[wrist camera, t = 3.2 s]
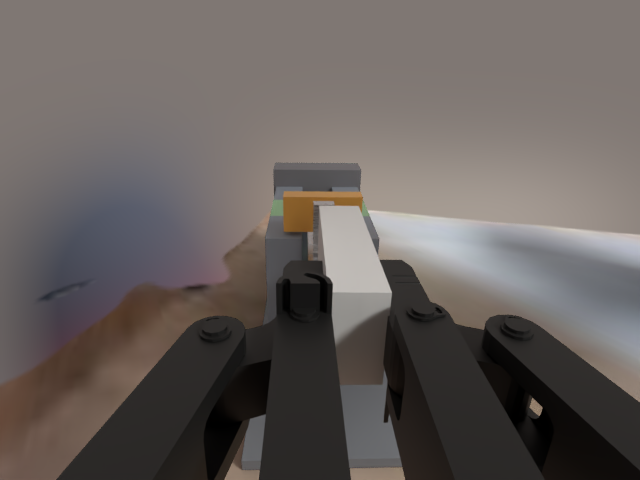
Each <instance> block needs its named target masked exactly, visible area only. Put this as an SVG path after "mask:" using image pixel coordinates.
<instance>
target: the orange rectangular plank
mask: <svg viewBox="0 0 640 480" xmlns="http://www.w3.org/2000/svg"><path fill="white" fill-rule="evenodd" d="M313 201H334V204H335V206H359V208H360V211H361V213H362V202H363V197H362V195H361V192H320V191H284V194H283V221H284V232H313Z"/></svg>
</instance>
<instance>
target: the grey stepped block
mask: <svg viewBox="0 0 640 480" xmlns="http://www.w3.org/2000/svg"><path fill="white" fill-rule="evenodd" d="M360 180H361V169H360V167H359V166H358V164H357V163H356V164H355V163H354V164H353V163H275V166H274V200H273V205H272V210H271V214H270V219H269V223H268V228H267V232H266V237H265V248H266V275H267V301H266V307H265V314H264V320H263V325H265V324H267V323H269V322H270V321H272V320H273V319H274V318H275V317H276V282H277V280H278V279H279V278H280V277H281V276H283V268H284V267H285V266H286V265H287V264H288V263H289V262H290V261H291V260H306V261H308V260H307V232H284V221H283V194H284V191H320V192H360ZM362 216H363V218H364V221H365V224H366V226H367V229H368V231H369V234H370V237H371V239H372V242H373V244H374V247H375V250H376V252H377V255H378V249H379V237H378V235H377V232H376V230H375V227H374V225H373V223H372V220H371V218H370V216H369V213H368V211H367V208H366V206H365V204H364V201H363V202H362ZM387 381H388V380H387V377H386V373H385V369H384V376H383V385H340V390H341V399H342V407H343V416H344V425H345V433H346V442H347V451H348V459H349V468H368V467H402V463H401V459H400V455H399V451H398V447H397V442H396V438H395V434H394V430H393V426H392V422H391V417H390V415H389V418H388V423H384V409H385V400H386V390H387ZM265 418H266V415H262V416H258V417H255V418H251V419H250V421H249V426H248V429H247V431H246V435H245V441H244V448H243V454H242V461H241V462H242V470H260V465H261V455H262V446H263V436H264V427H265Z"/></svg>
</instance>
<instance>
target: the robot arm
mask: <svg viewBox="0 0 640 480" xmlns="http://www.w3.org/2000/svg"><path fill="white" fill-rule="evenodd" d="M384 369H385V373H386V377H387V380H388V381H387V390H386V400H385V409H384V423H388V418H389V415H390V417H391V422H392V426H393V430H394V434H395V438H396V442H397V447H398V451H399V455H400V459H401V463H402V467H403V471H404V476H405V480H640V403H639V402H638V401H637V400H636V399H634V398H633V397H632V396H630V395H629V394H628V393H626V392H625V391H624V390H622V389H621V388H620V387H619V386H617V385H616V384H615V383H613V382H612V381H611V380H609V379H608V378H607V377H605V376H604V375H603V374H601V373H600V372H599V371H598V370H596V369H595V368H594V367H592V366H591V365H590V364H588V363H587V362H586V361H584V360H583V359H582V358H581V357H579V356H578V355H577V354H575V353H574V352H573V351H571V350H570V349H569V348H567V347H566V346H565V345H564V344H562V343H561V342H560V341H558V340H557V339H556V338H554V337H553V336H552V335H550V334H549V333H548V332H546V331H545V330H544V329H543V328H541V327H540V326H538V325H536V324H535V323H533V322H531V321H529V320H526V319H524V318H522V317H519V316H513V315H496V316H493V317H490V318H489V319H488V320H487V321H486V324H485V329H484V330H481V329H476V328H471V327H465V326H461V325H457V324H455V323H454V321H453V319H452V318H451V316H450V314H449V313H448V312H447V311H446V310H445V309H444V308H443V307H441V306H439V305H437V304H435V303H432V302H430V301H429V299H428V297H427V295H426V293H425V291H424V289H423V287H422V286H421V284H420V282H419V280H418V278H417V277H416V274H415V272H414V270H413V269H412V267H411V266H409V265H408V264H406V263H405V262H404V261H402V260H379V257H378V255H377V252H376V250H375V247H374V244H373V242H372V239H371V237H370V234H369V231H368V229H367V226H366V224H365V221H364V218H363V216H362V213H361V211H360V208H359V206H319V232H318V261H306V260H291V261H290V262H289V263H288V264H287V265H286V266H285V267H284V268H283V276H281V277H280V278H279V279H278V280H277V282H276V317H275V318H274V319H273V320H272V321H270V322H269V323H267V324H265V325H262V326H259V327H255V328H251V329H246V330H245V327H244V325H243V323H242V322H240V321H239V320H238V319H236V318H232V317H228V316H213V317H207V318H204V319H201V320H199V321H197V322H195V323H193V324H192V325H191V326H190V327H188V328H187V329H186V331H185V332H184V333H183V334H182V335H181V336H180V337H179V339H178V340H177V341H176V342H175V343H174V344H173V346H172V347H171V348H170V349H169V350H168V351H167V352H166V354H165V355H164V356H163V357H162V358H161V359H160V361H159V362H158V363H157V364H156V365H155V366H154V367H153V369H152V370H151V371H150V372H149V373H148V374H147V376H146V377H145V378H144V379H143V380H142V381H141V382H140V384H139V385H138V386H137V387H136V388H135V389H134V391H133V392H132V393H131V394H130V395H129V396H128V397H127V399H126V400H125V401H124V402H123V403H122V404H121V406H120V407H119V408H118V409H117V410H116V411H115V412H114V414H113V415H112V416H111V417H110V418H109V419H108V421H107V422H106V423H105V424H104V425H103V426H102V427H101V429H100V430H99V431H98V432H97V433H96V434H95V436H94V437H93V438H92V439H91V440H90V441H89V442H88V444H87V445H86V446H85V447H84V448H83V449H82V451H81V452H80V453H79V454H78V455H77V456H76V457H75V459H74V460H73V461H72V462H71V463H70V464H69V466H68V467H67V468H66V469H65V470H64V471H63V472H62V474H61V475H60V476H59V477H58V478H57V479H56V480H224V479H225V477H226V475H227V472H228V470H229V468H230V466H231V464H232V462H233V459H234V457H235V455H236V453H237V451H238V448H239V446H240V444H241V442H242V440H243V438H244V435H245V433H246V431H247V429H248V426H249V421H250V419H251V418H255V417H258V416H262V415H266V418H265V427H264V436H263V446H262V455H261V465H260V474H259V480H351V477H350V468H349V459H348V451H347V442H346V433H345V425H344V416H343V407H342V399H341V390H340V385H383V376H384ZM532 397H533V398H534V399H535V400H536V401H537V402H538V403H539V404H540V405H541V406H542V407H543V409H542V412H541V415H540V416H538V415H537V414H536V413H534V412H533V411H532V410H531V409H530V408H529V407H530V403H531V400H532Z"/></svg>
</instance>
